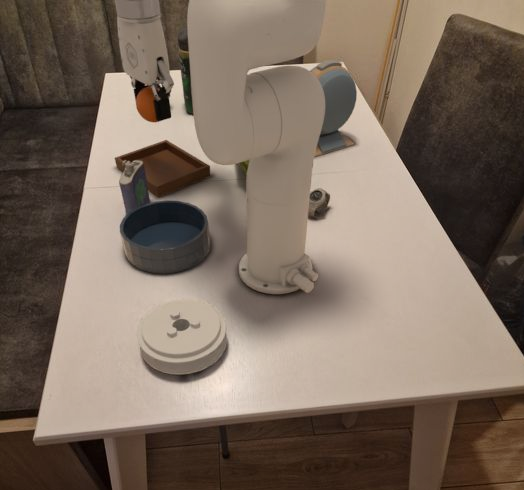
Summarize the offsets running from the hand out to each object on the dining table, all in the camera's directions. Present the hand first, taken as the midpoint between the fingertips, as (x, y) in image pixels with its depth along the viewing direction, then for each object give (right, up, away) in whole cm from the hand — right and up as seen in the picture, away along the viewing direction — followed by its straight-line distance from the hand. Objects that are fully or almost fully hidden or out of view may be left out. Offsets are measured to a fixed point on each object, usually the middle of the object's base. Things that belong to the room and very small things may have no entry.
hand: (153, 112), depth 98 cm
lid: (+10, -47, -26) cm, 55 cm away
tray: (0, -9, +9) cm, 13 cm away
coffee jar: (+5, +17, +33) cm, 38 cm away
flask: (-2, -21, -2) cm, 21 cm away
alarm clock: (+36, +2, +20) cm, 41 cm away
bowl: (+5, -29, -10) cm, 31 cm away
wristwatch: (+33, -21, -1) cm, 39 cm away
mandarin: (0, +1, -1) cm, 2 cm away
